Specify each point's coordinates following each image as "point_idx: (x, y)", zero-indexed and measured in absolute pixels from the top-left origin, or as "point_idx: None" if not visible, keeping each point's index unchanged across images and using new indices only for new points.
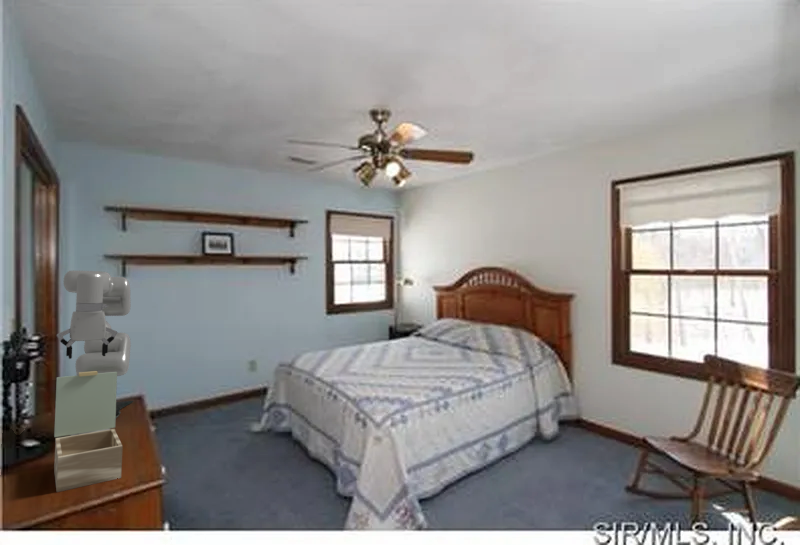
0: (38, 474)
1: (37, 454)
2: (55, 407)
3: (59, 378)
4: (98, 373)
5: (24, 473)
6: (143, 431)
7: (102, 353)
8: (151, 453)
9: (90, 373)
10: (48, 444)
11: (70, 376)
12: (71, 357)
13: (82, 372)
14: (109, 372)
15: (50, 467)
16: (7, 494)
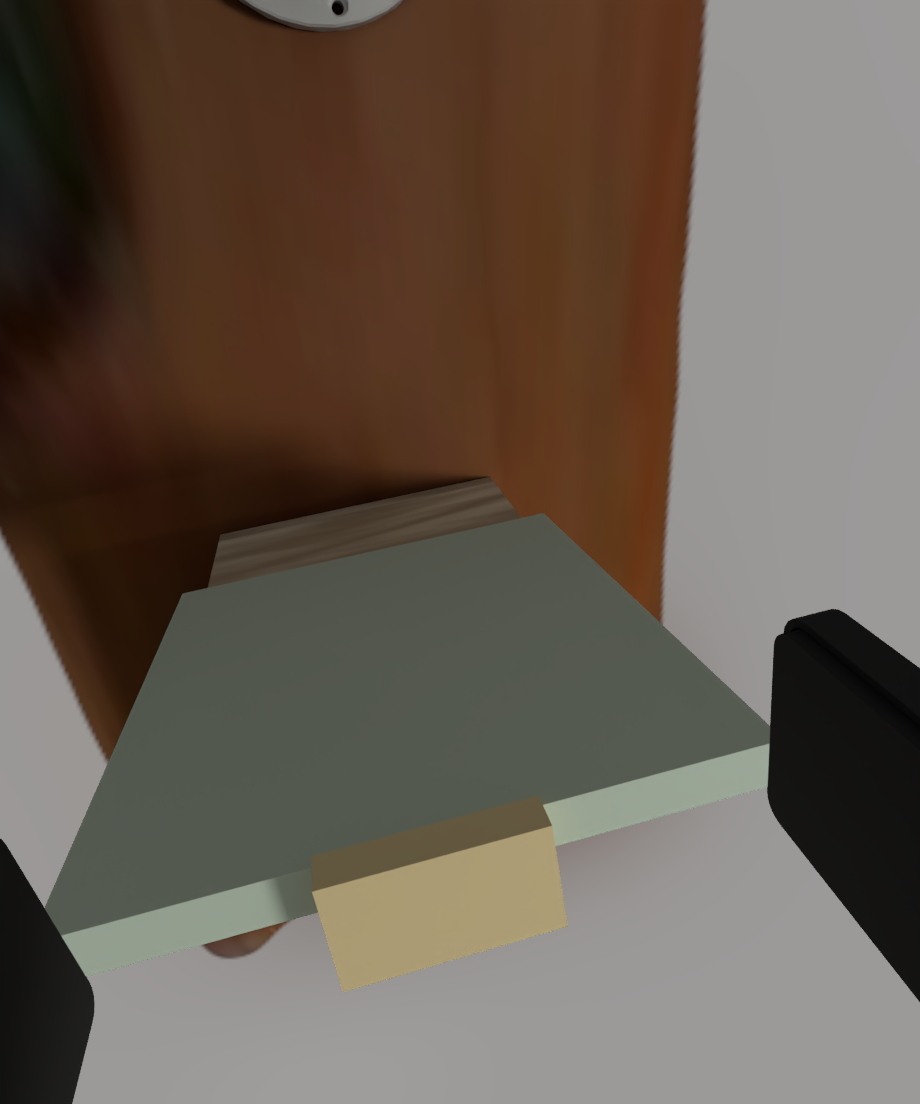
0: (159, 573)
1: (31, 232)
2: (137, 705)
3: (88, 965)
4: (564, 802)
5: (79, 537)
6: (685, 12)
7: (802, 761)
8: (666, 484)
9: (478, 940)
10: (29, 4)
11: (222, 937)
12: (86, 1030)
13: (369, 911)
14: (698, 767)
15: (192, 499)
16: (100, 742)
